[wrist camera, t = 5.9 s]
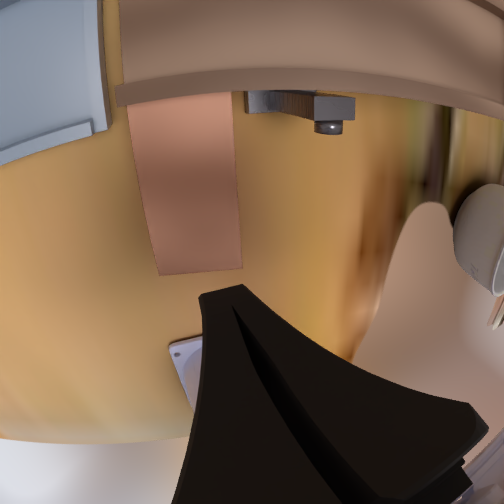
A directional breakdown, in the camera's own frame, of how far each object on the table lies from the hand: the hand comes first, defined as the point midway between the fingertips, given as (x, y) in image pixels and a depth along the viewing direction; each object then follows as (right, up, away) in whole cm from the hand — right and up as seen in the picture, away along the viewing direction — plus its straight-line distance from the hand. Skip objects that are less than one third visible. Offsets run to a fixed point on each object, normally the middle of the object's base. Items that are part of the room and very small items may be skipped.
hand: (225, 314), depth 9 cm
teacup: (+26, +6, +19) cm, 33 cm away
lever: (+6, +9, +3) cm, 11 cm away
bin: (-14, +10, 0) cm, 17 cm away
